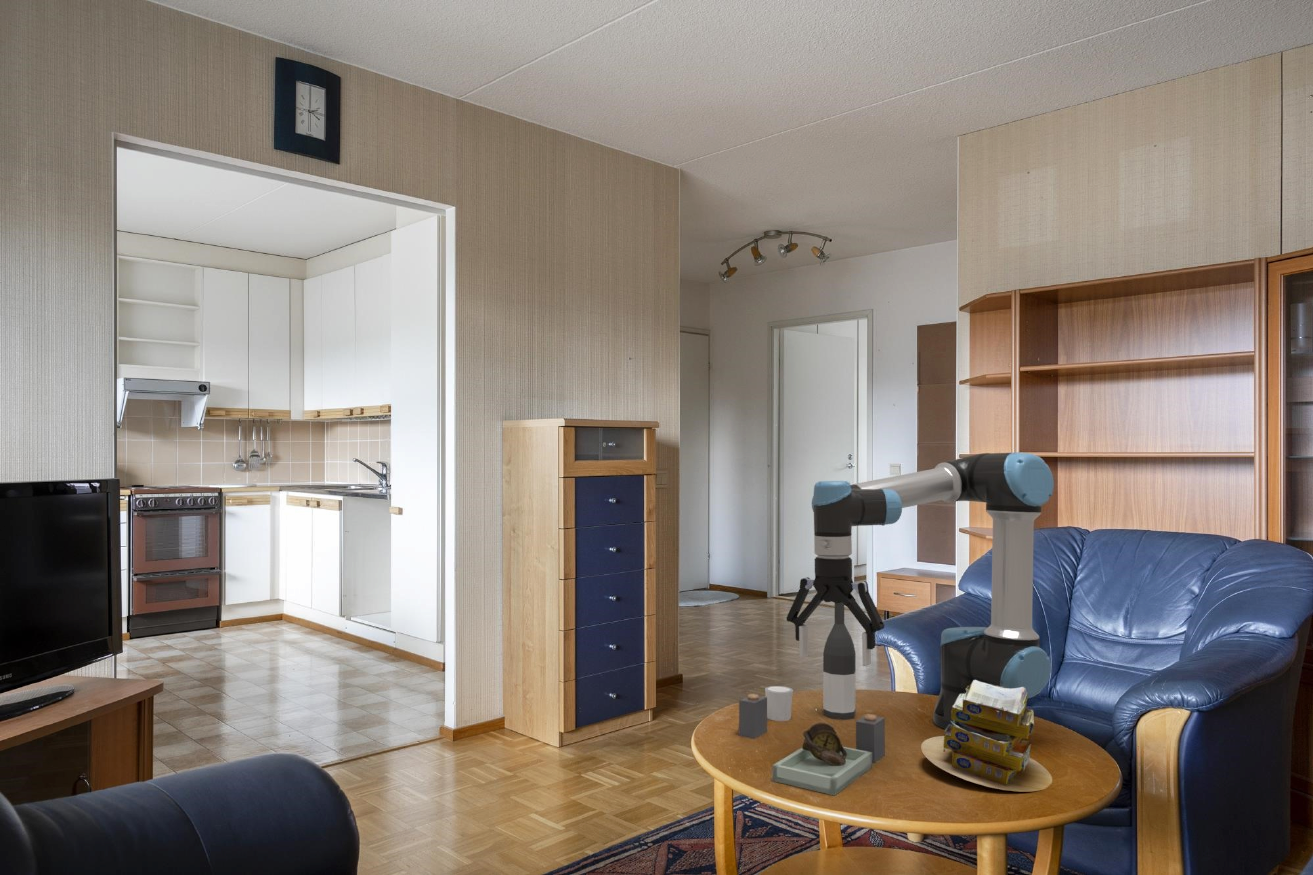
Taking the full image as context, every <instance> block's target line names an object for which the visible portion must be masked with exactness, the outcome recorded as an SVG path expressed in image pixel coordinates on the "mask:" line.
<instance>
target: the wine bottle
mask: <svg viewBox="0 0 1313 875" xmlns="http://www.w3.org/2000/svg"><path fill="white" fill-rule="evenodd" d="M856 653H857V652H856V648H855V643H854V641H853V639H852V635H851V634H850V631H848V629H847V626H846V624H845V605H844V604H843V602H841V603H834V624H833V626H832V628H831V630H830V632H829V633H828V636H827V638H826V641H825V644H824V648H823V653H822V654H823V657H822V659H823V660H822V662H823V664H822V666H823V668H822V672H823V674H822V678H823V679H822V681H823V682H822V684H823V685H822V687H823V688H822V691H823V692H822V693H823V695H822V696H823V697H822V700H823V702H822V705H823V706H822V711H823V716H824V717H827V718H830V719H834V720H850V719H854V718H855V716H856V679H857V678H856V674H857V672H856V671H857V670H856V665H857V664H856Z"/></svg>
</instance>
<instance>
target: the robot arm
mask: <svg viewBox="0 0 1313 875" xmlns="http://www.w3.org/2000/svg"><path fill="white" fill-rule="evenodd" d="M1053 476H1054V475H1053V473H1052V471H1051V468H1050V467H1049V464H1047V463H1046V462H1045V460H1044V459H1043V458H1041V457H1040V456H1039V455H1036V454H1033V453H1029V452H1027V453H1026V452H1019V451H1017V452H1016V451H1015V452H997V453H996V452H995V453H992V452H991V453H990V452H985V453H984V452H983V453H977V454H972V455H968V456H965V457H961V458H955V459H953V460H949V461H944V462H940V463H938V464H937V465H936V466H934V468H931V469H926V470H920V471H915V472H910V473H905V474H900V475H895V476H890V477H889V476H888V477H885V478H879V479H872V480H868V481H863V482H858V483H854V484H851V483H850V481H848V480H820V481H817V482H815V484H814V485H813V486H814V487H813V496H812V499H811V509H812V512H813V532H814V534H813V535H814V538H813V540H814V541H813V542H814V546H813V548H814V554H815V555H816V556H815V558H814V579H811V578H810V577H809V576H807V577H804V578H801V579H800V581H799V582H800V583H799V590H798V592H797V594H796V596H795V598H794V601H793V603H792V604H791V607H790V609H789V611H788V614H787V615H786V621H787V622H788V623H789V622H790V623H792V624H793V625H794V626H795V628H794V629H795V635H794V636H795V640H796V642H797V641H798V644H799V645H798V646H799V647H798V648H799V659H805V658H807V657H809V625H808V624H805V623H806V621H807V620H808V619H809V617H810V616H811V615H812V614H813V613H814V612H815V610H816V609H817V608H818V607H819V605H820V604H821V603H822V602H825V603H834V604H835V603H841V602H843V604H844V607H846V608H847V609H848V610H849V611H850V613H851V614H852V615H853V617H855V619H856V620H857V622H858V623H859V624H860V625H861V627H862V628H863V630H864V631H863V632H862V633H861V637H862V638H861V644H862V648H861V650H862V651H861V652H862V654H861V656H862V657H861V658H862V667H868V666H870V665H872V650H873V649H875V647H876V632H879V631H881V630H883V629H885V624H884V622H883V620H882V617H881V614H880V613H879V611H878V608H877V607H876V605H875V603H874V600H873V598H872V596H871V594H870V592H869V584H868V582H867V581H861V582H854V581H853V559H852V558H851V557H850V556H851V555H852V554H853V548H852V546H853V545H852V544H853V543H852V542H853V541H852V533H853V532H852V527H857V526H858V527H860V526H862V527H863V526H865V527H866V526H883V527H884V526H885V525H892V524H896V522H898V521H899V520H900V519H901V516H902V513H903V512H902V511H903V509H906V508H910V507H914V506H919V505H924V504H925V505H926V504H929V503H934V502H938V501H943V502H945V503H949V504H950V503H955V502H978V503H985V512H986V513H987V514H988V515H989V516H990V517H991V519H992V542H991V543H992V547H991V548H992V551H991V552H992V553H991V556H992V558H991V602H990V603H991V606H990V608H991V610H990V611H991V612H990V625H989V626H988V627H986V626H961V627H960V626H959V627H958V626H957V627H949V628H946V629H943V631H941V634H940V636H941V637H940V645H939V648H940V692H939V695H938V698H937V701H936V703H935V706H934V710H933V717H932V718H933V720H932V721H933V723H934V725H935V726H938V727H939V728H941V729H944V730H945V729H946V728H947V727H948V725H949V724H951V725H952V723H951V721H952V722H953V720H951V710H952V706H953V705H954V704H955V701H956V699H957V697H958V696H959V694H961V693H962V694H965V693H966V691H967V690H966V688H967V687H968V686H969V687H968V689H969V688H970V684H971V683H972V682H973V680H977V681H980V682H983V683H987V684H992V685H997V686H1001V687H1006V688H1010V689H1012V688H1020V687H1025V689H1026V692H1027V693H1028V698H1027V699H1030V698H1034V697H1035V696H1037V695H1038V694H1040V693H1041V692H1042V690H1043V689H1044V688H1045V687H1046V686H1047V684H1048V682H1049V680H1050V677H1051V672H1052V663H1051V659H1050V656H1048V654H1047V652H1046V651H1045V650H1044V649H1043V648H1041V647H1040V635H1039V634H1038V633H1037V632H1036V631H1035V630H1034V628H1033V594H1034V592H1033V588H1034V583H1033V582H1034V581H1033V580H1034V530H1035V529H1034V528H1035V526H1034V525H1035V523H1034V522H1035V520H1036V519H1037V518H1038V517H1039V516H1041V514H1042V506H1043V505H1045V504H1046V503H1048V501H1049V500H1050V497H1052V495H1053V492H1054V487H1055V486H1054V485H1055V482H1054V478H1053ZM812 588H814V590H815V592H816V594H815V595H814V596H813V597H812V599H811V600H810V602H809V603H808V604H807V605H806V607H805V608H804V609H803V610H802V611H801V609H802V607H803V605H804V603H805V600H806V599H807V596H808V595H809V592H810V590H811V589H812ZM854 590H855V592H856V593H857V594H858V597H859V598H860V601H861V603H862V605H863V606H864V610H865V611H866V613H865V611H864V610H863V609H862V608H861V606H860V605H859V603H857V601H856V598H855V597H854V595H853V594H852V592H853V591H854ZM800 612H801V613H800ZM964 692H965V693H964Z"/></svg>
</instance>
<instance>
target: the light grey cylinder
mask: <svg viewBox="0 0 1313 875" xmlns="http://www.w3.org/2000/svg"><path fill="white" fill-rule="evenodd" d="M764 692H765V697H767V720H770V721H775V722H787V721H790V720H791V716H792V709H793V708H792V705H793V697H794V696H793V695H794V689H793V688H791V687H788V686H784V685H771V686H766V687H765V688H764Z"/></svg>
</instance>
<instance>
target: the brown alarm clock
mask: <svg viewBox="0 0 1313 875" xmlns="http://www.w3.org/2000/svg"><path fill="white" fill-rule="evenodd" d="M802 735H803V737H804V741H803V744H802V747H801V748H802V749H804V750H807V751H810V752H811V753H812V755H813V756H814V757H815V758H817V759H818V760H821V761H824V762H825V763H826V764H828V765H831V766H842V765H844V764H845V763H846V760H845V759H846V756H847V753H846V751H845V749H844V748H843V747H844V746H843V745H842V742H841V740H840V737H839V736H838V734H837V732H836V730H835V729H834V727H833V726H832V725H830V724H828V723H826V722H818V723H815V724H813V725H811V726H810V727H809V728H808V729H807V730H804V732H803V734H802ZM840 751H841V752H842V754H843V755H841V754H839V753H840Z"/></svg>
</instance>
